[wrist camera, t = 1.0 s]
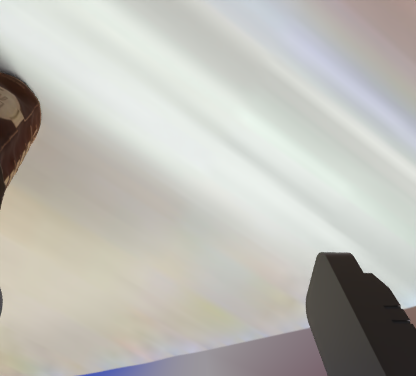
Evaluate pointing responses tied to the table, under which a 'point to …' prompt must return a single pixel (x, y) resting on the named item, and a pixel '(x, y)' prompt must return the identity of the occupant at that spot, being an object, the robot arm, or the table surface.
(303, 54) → the table surface
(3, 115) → the coffee cup
